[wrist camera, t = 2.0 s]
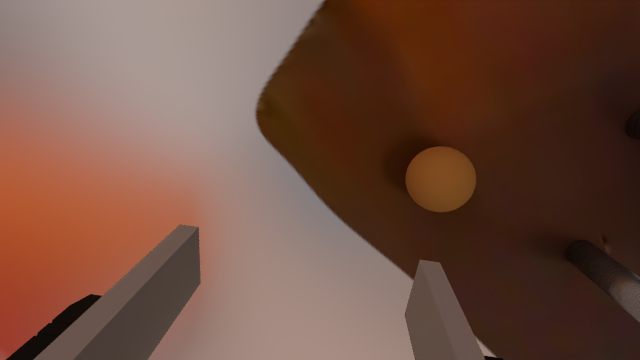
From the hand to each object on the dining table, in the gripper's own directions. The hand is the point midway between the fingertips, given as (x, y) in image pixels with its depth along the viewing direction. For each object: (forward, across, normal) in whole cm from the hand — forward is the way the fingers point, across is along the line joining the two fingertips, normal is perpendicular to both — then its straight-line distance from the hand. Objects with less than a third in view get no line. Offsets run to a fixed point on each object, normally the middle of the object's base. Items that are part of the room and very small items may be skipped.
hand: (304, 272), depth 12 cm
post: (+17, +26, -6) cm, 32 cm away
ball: (+15, +10, 0) cm, 17 cm away
